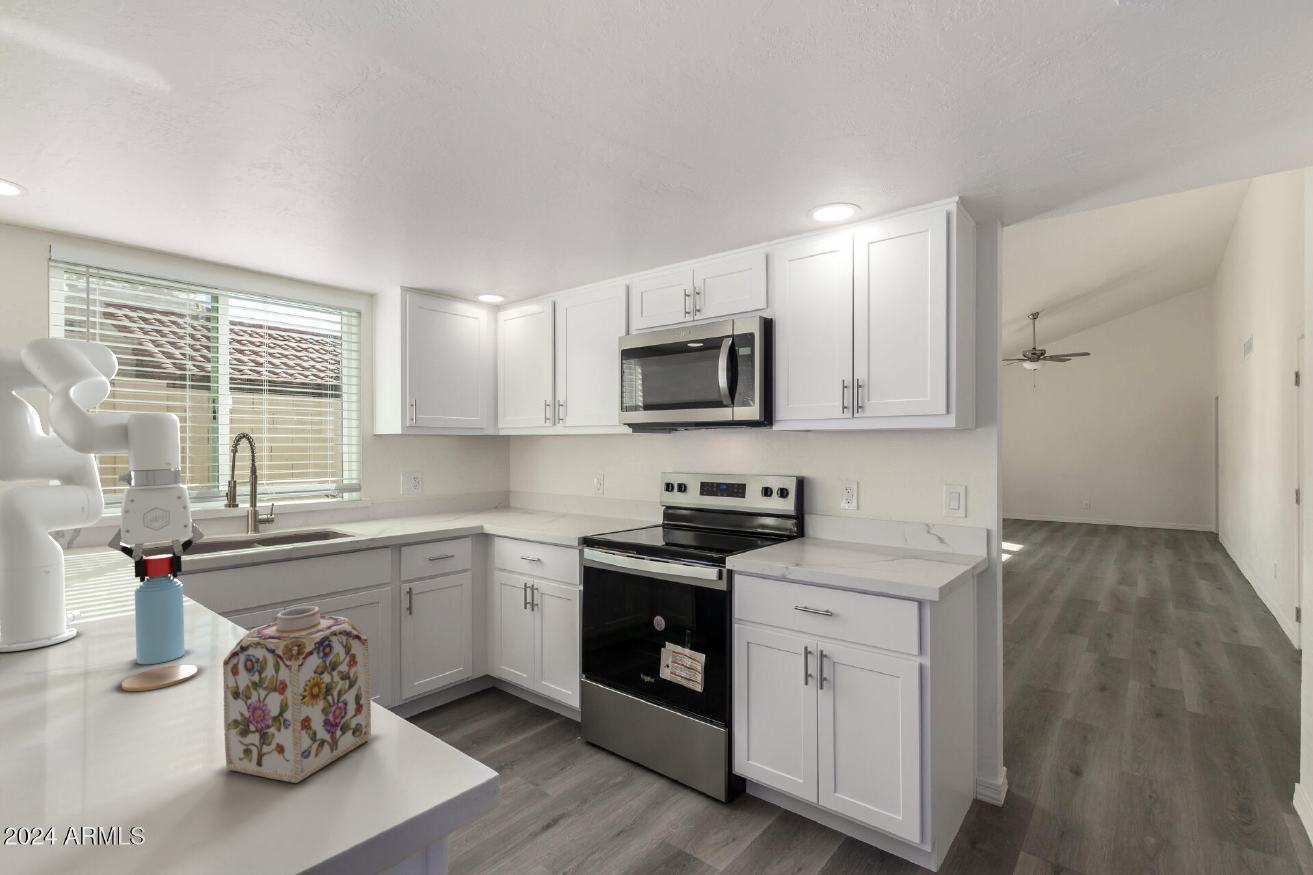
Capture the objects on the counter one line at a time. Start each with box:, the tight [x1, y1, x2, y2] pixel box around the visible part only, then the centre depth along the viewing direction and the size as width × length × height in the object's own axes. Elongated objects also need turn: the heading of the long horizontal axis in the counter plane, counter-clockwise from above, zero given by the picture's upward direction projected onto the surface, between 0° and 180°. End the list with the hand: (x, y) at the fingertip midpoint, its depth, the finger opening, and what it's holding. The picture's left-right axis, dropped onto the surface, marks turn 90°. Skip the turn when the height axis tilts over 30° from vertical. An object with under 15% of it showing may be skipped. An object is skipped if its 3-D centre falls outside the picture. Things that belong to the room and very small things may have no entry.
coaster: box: [121, 664, 198, 692], centre depth 107 cm, size 10×10×1 cm
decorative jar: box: [222, 605, 372, 784], centre depth 79 cm, size 12×12×18 cm
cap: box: [143, 554, 173, 578], centre depth 118 cm, size 4×4×3 cm
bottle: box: [134, 574, 186, 665], centre depth 118 cm, size 7×7×18 cm
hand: (159, 577), depth 118 cm, fingers closed on cap, 4 cm apart
